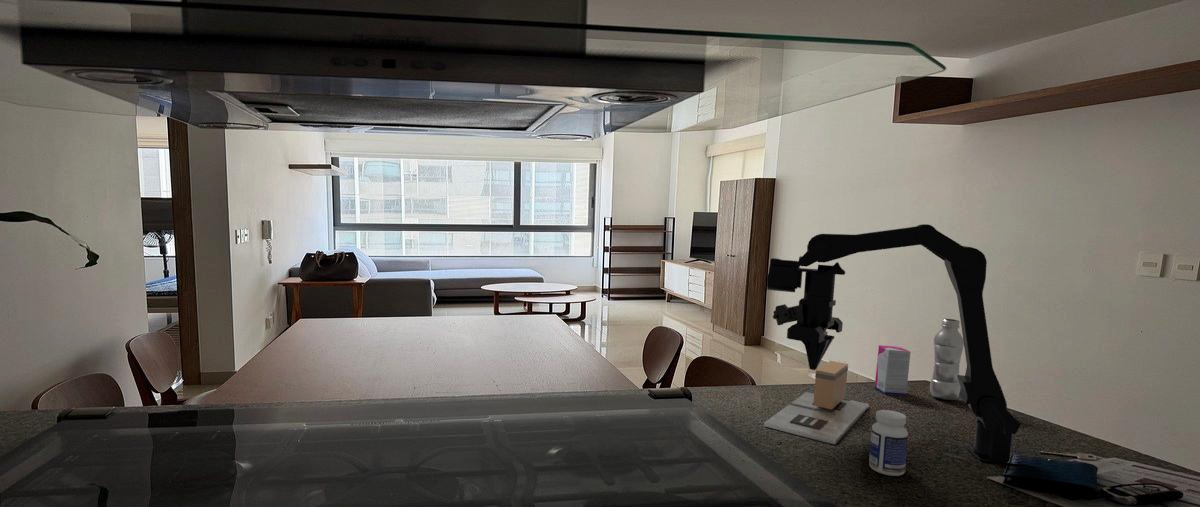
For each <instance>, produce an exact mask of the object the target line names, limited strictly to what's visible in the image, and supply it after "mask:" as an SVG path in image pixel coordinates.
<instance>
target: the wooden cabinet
mask: <svg viewBox="0 0 1200 507" xmlns="http://www.w3.org/2000/svg"><path fill="white" fill-rule="evenodd" d="M848 370H849V363H846V362H845V363H844V362H839V361H832V360H829V361H828V362H826V363H825V364H824V365H822V366H820V367H819V368H817V369H816V370H815V378H814V379H815V381H814V404H813V405H814V406H819V407H823V408H828V409H833V408H834V407H835V406H836V405H837V404H838V403H840V402H841V401H842V400H843V399H844V398H846V394H847V382H848V381H847V379H848Z"/></svg>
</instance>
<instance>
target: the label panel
mask: <svg viewBox="0 0 1200 507" xmlns="http://www.w3.org/2000/svg"><path fill="white" fill-rule="evenodd" d="M814 391H815V390H814ZM814 391H813V390H810V389H807V390H806V392H804V393H803V394H801V395H800V396H799V397H797V398H796V399H795V400H793V401H791V402H790V403H789V404H788V405H786V406H785V407H784V408H782V409H781V410H779V411H778V412H777V413H775V414H774V415H772V416H771V417H770V418H769V419H767V420H765V421H764V423H763V427H766V428H767V429H768V428H769V429H773V430H777V431H781V432H784V433H788V434H793V435H795V436H799V437H803V438H807V439H812V440H815V441H819V442H822V443H827V444H829V445H830V444H831V445H834V446H835V445H836V444H837V443H838V442H839V441H840V440H841V439H842V437H843V436H844V435H845V434H846V433H847V432H848V431H849V430H850V429H851V427H853V425H854V424H855V423H856V422H857V421H858V419H860V417H861V416H862V415H863V414H864V413H865V411H867V410H868V409H869V404H870V403H866V402H862V401H857V400H851V398H847V397H845V398H844V399H843V400H842V401H841V402H840V403H838V404H837V405H836V406H835V407H834V408H833V409H828V408H823V407H819V406H814V405H813V404H814Z"/></svg>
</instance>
